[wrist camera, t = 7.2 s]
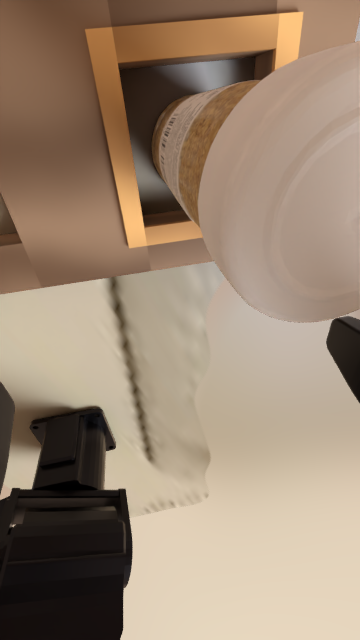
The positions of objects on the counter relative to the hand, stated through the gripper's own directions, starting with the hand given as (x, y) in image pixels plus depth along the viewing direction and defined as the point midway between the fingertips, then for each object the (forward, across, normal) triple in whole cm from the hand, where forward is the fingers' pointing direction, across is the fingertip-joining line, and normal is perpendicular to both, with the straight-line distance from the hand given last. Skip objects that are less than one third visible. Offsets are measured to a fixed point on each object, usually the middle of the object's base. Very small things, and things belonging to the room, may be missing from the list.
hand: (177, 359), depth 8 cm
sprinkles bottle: (+12, -3, -4) cm, 13 cm away
